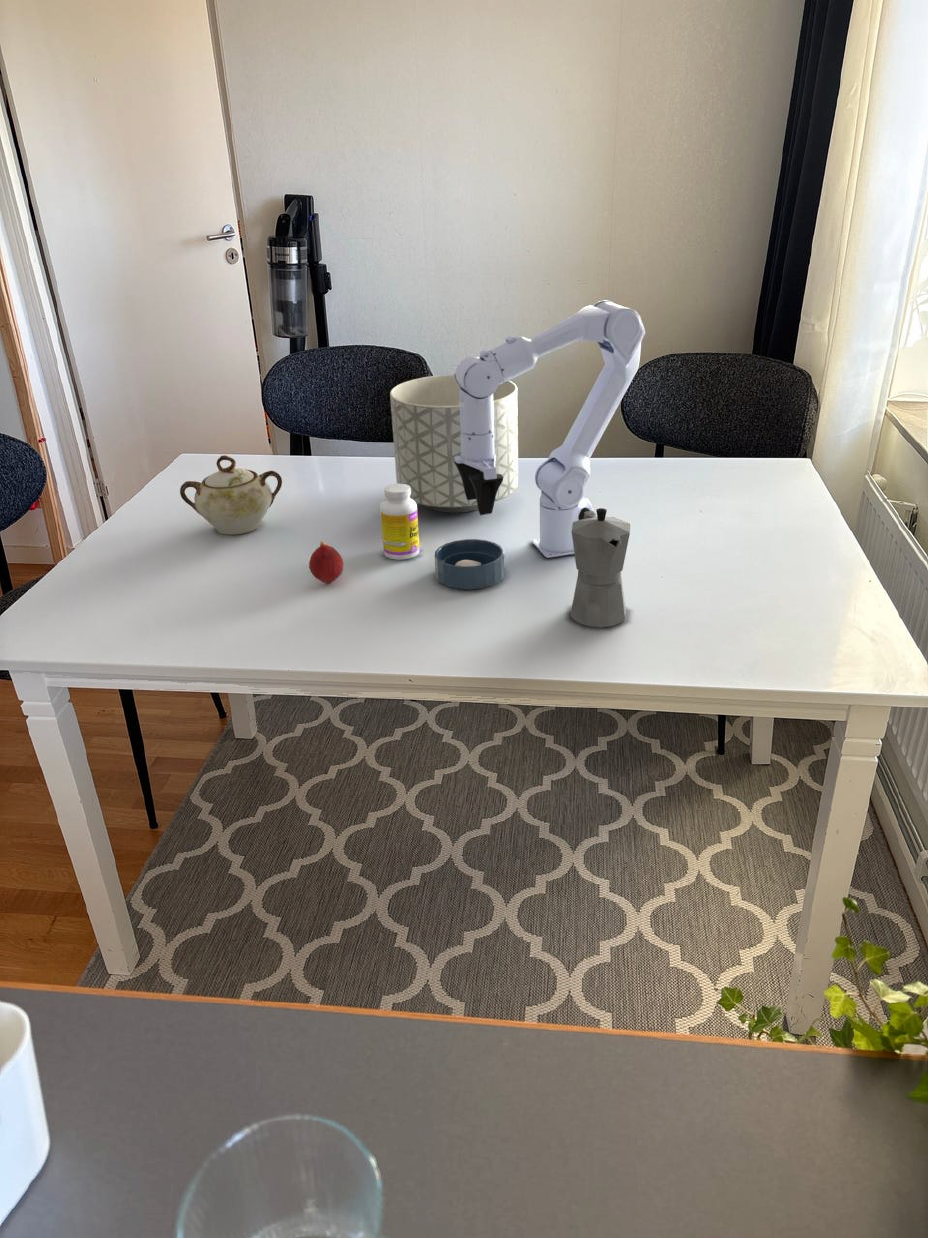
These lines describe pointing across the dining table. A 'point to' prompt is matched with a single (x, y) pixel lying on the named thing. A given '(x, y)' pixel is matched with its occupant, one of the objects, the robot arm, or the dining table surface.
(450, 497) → the planter
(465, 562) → the beige pebble
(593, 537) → the coffeepot
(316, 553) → the onion
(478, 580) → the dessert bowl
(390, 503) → the supplement bottle
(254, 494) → the sugar bowl
